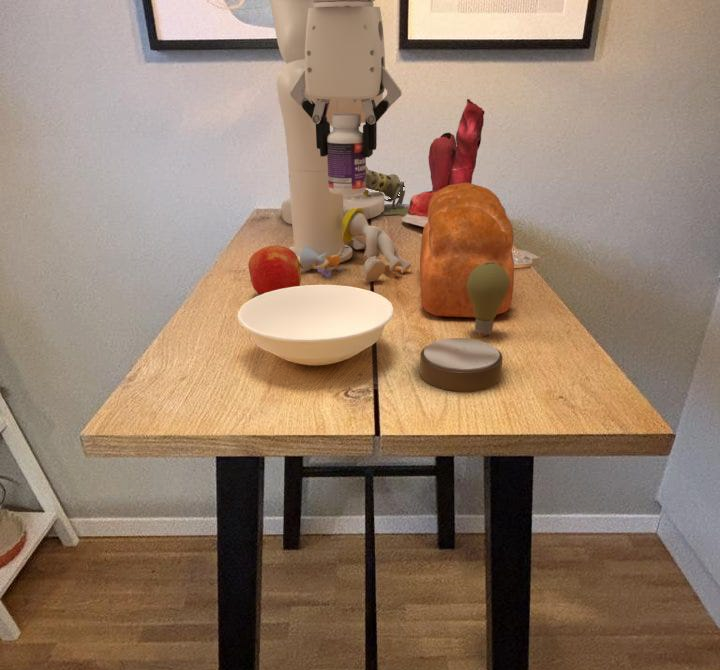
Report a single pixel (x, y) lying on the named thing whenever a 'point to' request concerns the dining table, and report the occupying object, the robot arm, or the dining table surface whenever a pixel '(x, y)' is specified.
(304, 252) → the fairy figurine
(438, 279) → the bread
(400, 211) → the map
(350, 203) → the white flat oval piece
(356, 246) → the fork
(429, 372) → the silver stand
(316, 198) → the robot arm
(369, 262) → the figurine
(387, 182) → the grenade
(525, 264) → the stamped metal plate
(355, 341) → the bowl
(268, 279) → the apple
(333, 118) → the pill bottle
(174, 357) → the dining table surface
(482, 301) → the light bulb
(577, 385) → the dining table surface
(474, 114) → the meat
